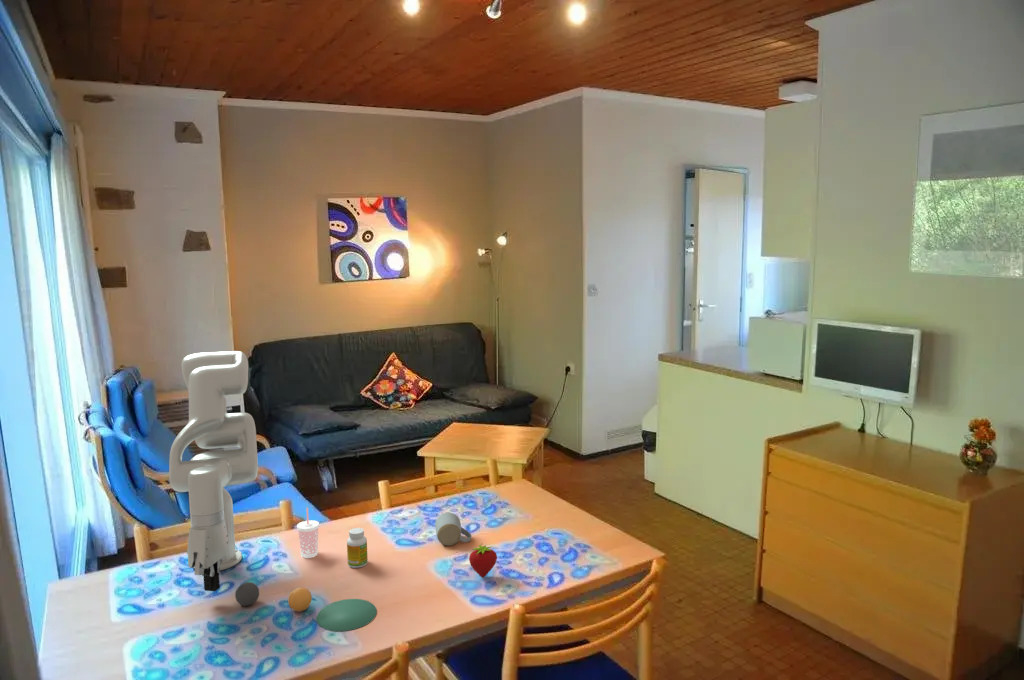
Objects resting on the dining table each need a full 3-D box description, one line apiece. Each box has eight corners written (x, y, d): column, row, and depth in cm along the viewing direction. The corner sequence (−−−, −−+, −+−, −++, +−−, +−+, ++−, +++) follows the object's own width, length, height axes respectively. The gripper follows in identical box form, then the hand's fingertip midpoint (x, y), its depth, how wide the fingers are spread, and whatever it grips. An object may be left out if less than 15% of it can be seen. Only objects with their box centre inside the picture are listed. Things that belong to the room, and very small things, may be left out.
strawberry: (499, 580, 180) (499, 544, 178) (471, 584, 177) (471, 548, 176) (494, 570, 185) (493, 535, 184) (467, 573, 183) (466, 538, 182)
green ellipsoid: (305, 627, 158) (305, 627, 158) (332, 597, 171) (332, 596, 171) (362, 634, 155) (362, 633, 155) (385, 602, 169) (385, 601, 169)
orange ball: (284, 614, 163) (283, 593, 162) (295, 602, 168) (294, 582, 168) (305, 617, 162) (304, 595, 161) (316, 605, 167) (315, 584, 167)
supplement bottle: (362, 569, 186) (361, 535, 184) (344, 567, 187) (343, 534, 185) (370, 560, 191) (369, 527, 190) (352, 558, 192) (351, 525, 191)
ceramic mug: (436, 548, 198) (436, 523, 197) (435, 536, 206) (435, 512, 205) (472, 546, 200) (473, 521, 199) (469, 534, 208) (470, 510, 207)
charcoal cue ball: (231, 609, 166) (230, 587, 165) (244, 597, 171) (242, 577, 170) (252, 611, 165) (250, 590, 164) (264, 599, 170) (263, 579, 169)
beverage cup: (311, 560, 191) (309, 513, 189) (293, 557, 193) (291, 510, 191) (324, 551, 196) (322, 505, 194) (307, 548, 199) (305, 502, 197)
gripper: (212, 506, 174) (216, 574, 176) (173, 528, 160) (178, 603, 162) (239, 507, 173) (243, 577, 175) (202, 530, 158) (206, 605, 160)
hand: (212, 589), depth 168 cm, fingers closed
